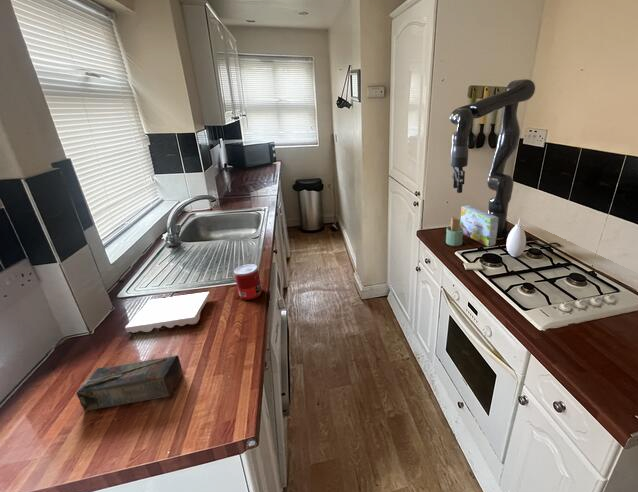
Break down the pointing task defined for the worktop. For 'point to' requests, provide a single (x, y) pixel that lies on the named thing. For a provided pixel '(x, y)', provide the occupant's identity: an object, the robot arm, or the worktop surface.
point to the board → (473, 266)
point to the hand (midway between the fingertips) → (457, 190)
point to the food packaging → (169, 312)
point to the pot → (454, 237)
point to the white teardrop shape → (516, 240)
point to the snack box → (479, 225)
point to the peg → (455, 224)
